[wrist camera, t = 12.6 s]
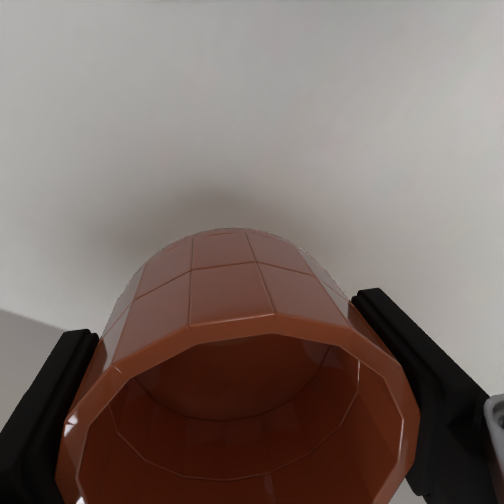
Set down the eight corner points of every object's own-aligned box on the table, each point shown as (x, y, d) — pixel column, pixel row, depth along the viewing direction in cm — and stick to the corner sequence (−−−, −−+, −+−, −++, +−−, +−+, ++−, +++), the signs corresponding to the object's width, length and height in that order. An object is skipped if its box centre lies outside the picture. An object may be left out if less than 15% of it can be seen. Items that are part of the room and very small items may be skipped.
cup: (336, 399, 12) (404, 542, 8) (140, 432, 12) (108, 606, 8) (339, 214, 10) (440, 288, 6) (87, 243, 9) (-4, 352, 5)
